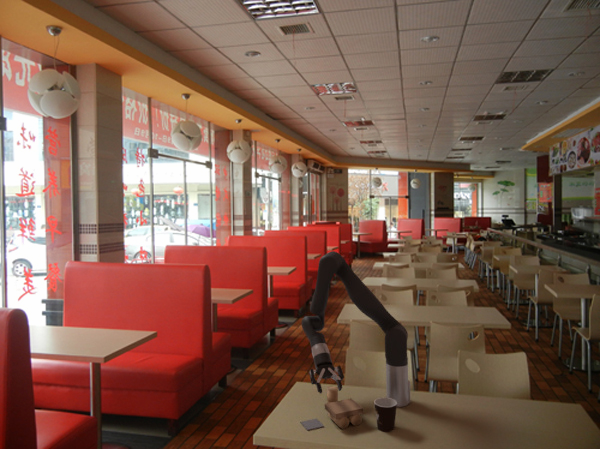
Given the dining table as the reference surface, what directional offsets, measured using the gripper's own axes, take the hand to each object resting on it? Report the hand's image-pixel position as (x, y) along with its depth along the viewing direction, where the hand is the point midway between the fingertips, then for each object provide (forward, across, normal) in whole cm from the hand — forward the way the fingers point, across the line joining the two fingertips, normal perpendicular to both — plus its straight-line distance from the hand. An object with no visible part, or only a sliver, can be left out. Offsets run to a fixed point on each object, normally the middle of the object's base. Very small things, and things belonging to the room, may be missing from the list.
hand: (330, 391), depth 195 cm
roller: (+7, 0, +4) cm, 8 cm away
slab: (+14, +1, -3) cm, 14 cm away
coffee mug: (+20, +15, -9) cm, 27 cm away
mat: (+13, -12, -2) cm, 17 cm away
